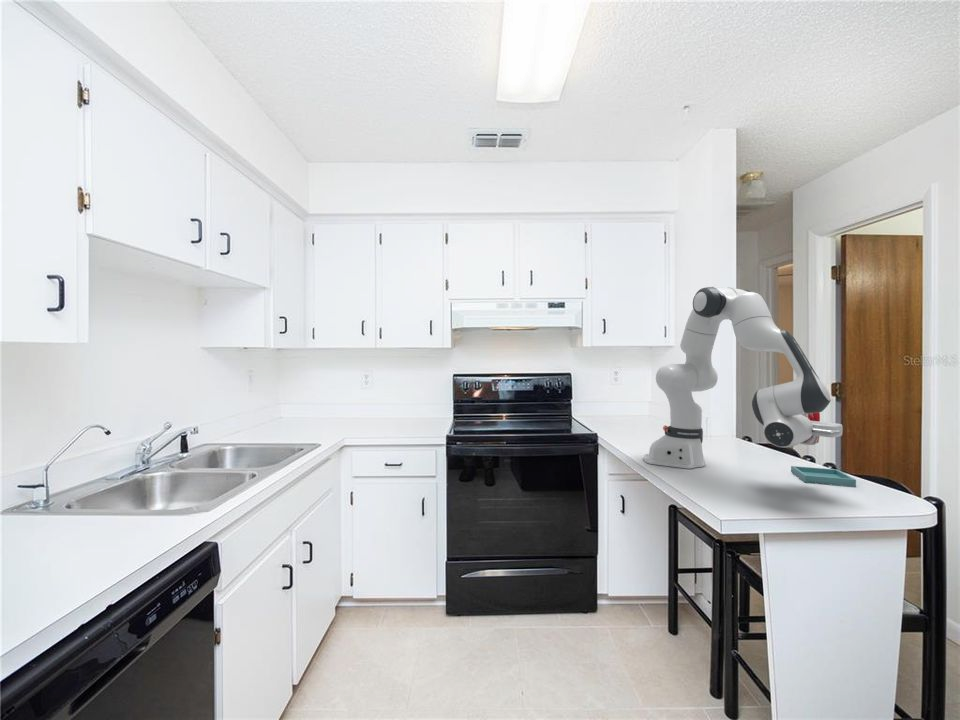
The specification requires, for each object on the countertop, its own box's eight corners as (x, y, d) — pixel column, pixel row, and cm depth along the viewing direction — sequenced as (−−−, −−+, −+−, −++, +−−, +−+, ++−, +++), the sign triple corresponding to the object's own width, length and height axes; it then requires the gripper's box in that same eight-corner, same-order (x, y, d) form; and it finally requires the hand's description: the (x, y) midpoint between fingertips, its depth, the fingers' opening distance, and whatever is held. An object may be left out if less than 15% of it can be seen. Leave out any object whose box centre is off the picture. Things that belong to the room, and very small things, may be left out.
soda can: (823, 446, 137) (825, 408, 137) (798, 444, 138) (799, 407, 138) (811, 441, 144) (813, 405, 144) (787, 440, 145) (788, 404, 145)
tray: (805, 482, 146) (805, 475, 146) (790, 472, 158) (791, 465, 158) (855, 487, 142) (856, 479, 142) (837, 476, 154) (837, 469, 154)
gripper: (838, 422, 125) (848, 418, 134) (757, 413, 140) (771, 410, 149) (837, 444, 125) (847, 438, 134) (756, 433, 140) (770, 428, 149)
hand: (806, 423), depth 142 cm, fingers closed on soda can, 7 cm apart
